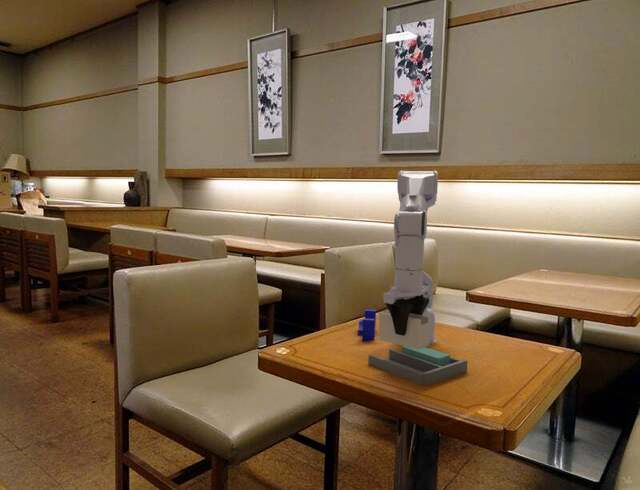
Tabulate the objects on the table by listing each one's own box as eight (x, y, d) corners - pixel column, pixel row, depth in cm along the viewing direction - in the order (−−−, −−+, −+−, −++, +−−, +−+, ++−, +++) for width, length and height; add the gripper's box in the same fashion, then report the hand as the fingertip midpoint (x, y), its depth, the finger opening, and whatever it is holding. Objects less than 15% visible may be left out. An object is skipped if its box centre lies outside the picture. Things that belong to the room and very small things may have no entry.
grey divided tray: (409, 354, 115) (410, 342, 114) (466, 374, 102) (467, 360, 102) (368, 366, 106) (368, 353, 106) (425, 389, 94) (425, 374, 93)
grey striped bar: (389, 336, 107) (389, 309, 107) (429, 345, 100) (430, 316, 100) (378, 339, 104) (378, 312, 104) (419, 349, 97) (419, 319, 97)
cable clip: (359, 329, 137) (360, 309, 136) (375, 330, 136) (375, 309, 135) (356, 342, 125) (357, 319, 124) (373, 343, 124) (374, 320, 124)
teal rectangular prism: (413, 356, 112) (414, 343, 111) (449, 368, 104) (450, 355, 104) (401, 359, 109) (402, 346, 109) (437, 372, 101) (438, 358, 101)
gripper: (412, 263, 108) (409, 322, 110) (372, 269, 98) (370, 334, 99) (439, 267, 103) (437, 329, 105) (401, 273, 93) (398, 342, 94)
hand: (406, 332), depth 102 cm, fingers closed on grey striped bar, 4 cm apart
